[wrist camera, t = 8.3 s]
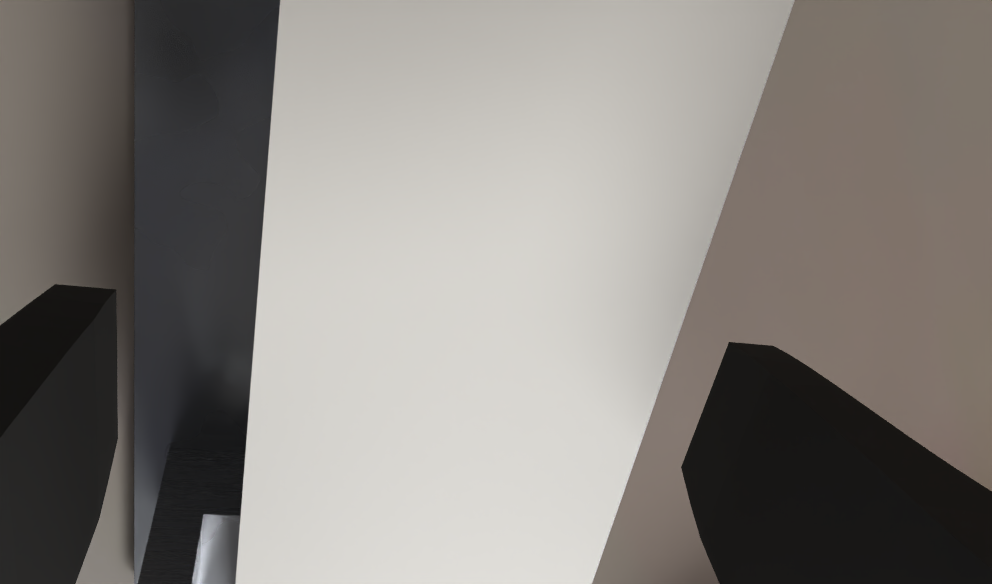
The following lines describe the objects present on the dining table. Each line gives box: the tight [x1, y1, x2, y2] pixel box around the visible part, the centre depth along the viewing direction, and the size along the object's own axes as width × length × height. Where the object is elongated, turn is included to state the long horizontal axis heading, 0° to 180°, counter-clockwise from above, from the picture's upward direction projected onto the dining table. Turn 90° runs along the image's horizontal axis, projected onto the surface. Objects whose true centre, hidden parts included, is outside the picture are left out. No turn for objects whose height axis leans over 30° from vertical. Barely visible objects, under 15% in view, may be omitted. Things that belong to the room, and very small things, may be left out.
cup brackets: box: [134, 0, 280, 584], centre depth 14 cm, size 8×20×5 cm, turn 169°
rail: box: [235, 0, 795, 584], centre depth 12 cm, size 4×18×5 cm, turn 169°
